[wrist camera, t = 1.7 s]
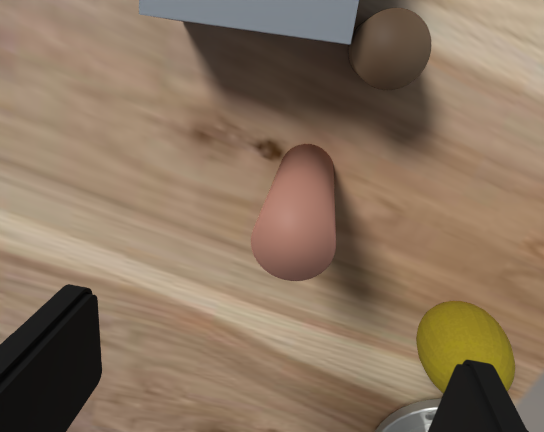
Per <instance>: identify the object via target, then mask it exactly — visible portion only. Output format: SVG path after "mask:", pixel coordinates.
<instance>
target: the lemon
mask: <svg viewBox="0 0 544 432" xmlns="http://www.w3.org/2000/svg"><path fill="white" fill-rule="evenodd" d="M416 340H417V349H418V355H419V358H420V361H421V363H422V365H423V367H424V369H425V371H426V373H427V375H428V377H429V378H430V380H431V381H432V382H433V384H434V385H435V386H436V387H437V388H438V389H439V390H440V391H441V392H442V393H443V394H444V392H445V389H446V387H447V385H448V382H449V380H450V378H451V375H452V373H453V370H454V368H455V366H456V365H457V364H463V362H464V361H465V360H473V361H479V362H484V363H489V364H492V365H493V366H494V367H495V369H496V371H497V373H498V375H499V377H500V379H501V381H502V383H503V385H504V387H505V389H506V390H507V391H508V390H509V388H510V386H511V384H512V382H513V379H514V373H515V361H514V357H513V352H512V348H511V344H510V342H509V339H508V338H507V336H506V334H505V332H504V331H503V329H502V328H501V326H500V325H499V323H498V322H497V321H496V320H495V319H494V318H493V317H492V316H491V315H489V314H488V313H487V312H486V311H485V310H483V309H481V308H479V307H477V306H475V305H473V304H471V303H467V302H462V301H449V302H443V303H441V304H438V305H436V306H435V307H433V308H432V309H430V310H429V311H428V312H427V313H426V314H425V315H424V316H423V318H422V320H421V322H420V324H419V326H418V331H417V338H416Z"/></svg>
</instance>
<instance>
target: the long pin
mask: <svg viewBox="0 0 544 432" xmlns="http://www.w3.org/2000/svg"><path fill="white" fill-rule="evenodd" d="M251 246H252V251H253V254H254V256H255V258H256V260H257V261H258V263H259V264H260V265H261V266H262V268H263V269H265V270H266V271H267V272H268V273H270V274H271V275H273V276H275V277H278V278H280V279H284V280H289V281H302V280H307V279H310V278H313V277H315V276H317V275H319V274H320V273H322V272H323V271H324V270H325V269H326V268H327V267H328V266H329V265H330V263H331V262H332V260H333V257H334V254H335V250H336V228H335V196H334V167H333V163H332V160H331V158H330V156H329V155H328V154H327V152H326V151H324V150H323V149H322V148H320V147H318V146H315V145H312V144H302V145H298V146H296V147H294V148H292V149H290V150H289V151H288V152H287V153H286V154H285V156H284V157H283V159H282V162H281V164H280V166H279V169H278V171H277V174H276V176H275V178H274V181H273V183H272V185H271V188H270V190H269V193H268V195H267V197H266V200H265V202H264V205H263V207H262V209H261V212H260V214H259V217H258V219H257V221H256V224H255V226H254V229H253V232H252V236H251Z"/></svg>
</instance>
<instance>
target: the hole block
mask: <svg viewBox="0 0 544 432" xmlns="http://www.w3.org/2000/svg"><path fill="white" fill-rule="evenodd" d="M358 3H359V0H139V14H141V15H147V16H153V17H159V18H165V19H171V20H177V21H183V22H190V23H197V24H204V25H211V26H218V27H226V28H233V29H240V30H247V31H254V32H261V33H268V34H275V35H282V36H289V37H296V38H303V39H310V40H317V41H324V42H331V43H338V44H345V45H348V44H351V39H352V34H353V29H354V24H355V18H356V13H357V8H358Z"/></svg>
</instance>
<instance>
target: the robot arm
mask: <svg viewBox="0 0 544 432" xmlns="http://www.w3.org/2000/svg"><path fill="white" fill-rule="evenodd" d="M101 374H102V362H101V347H100V331H99V316H98V300H97V296H96V295H92V291H91V289H89V288H86V287H80V286H75V285H70V284H68V285H65V286H64V287H63V288H62V289H60V290H59V291H58V292H57V293H56V294H55V295H54V296H53V297H52V298H51V299H50V300H49V301H48V302H46V303H45V304H44V305H43V306H42V307H41V308H40V309H39V310H38V311H37V312H36V313H35V314H33V315H32V316H31V317H30V318H29V319H28V320H27V321H26V322H25V323H24V324H23V325H22V326H20V327H19V328H18V329H17V330H16V331H15V332H14V333H13V334H11V335H10V336H9V337H8V338H7V339H6V340H5V341H4V342H3V343H2V344H0V432H66V431H67V429H68V428H69V426H70V425H71V423H72V422H73V420H74V419H75V417H76V416H77V414H78V413H79V411H80V410H81V409H82V407H83V406H84V404H85V403H86V401H87V400H88V398H89V397H90V395H91V394H92V392H93V391H94V389H95V388H96V386H97V385H98V383H99V381H100V378H101ZM375 432H529V431H527V430H526V428H525V426H524V424H523V422H522V420H521V418H520V416H519V414H518V412H517V410H516V408H515V406H514V404H513V402H512V400H511V398H510V396H509V394H508V392H507V390H506V389H505V387H504V385H503V383H502V381H501V379H500V377H499V375H498V373H497V371H496V369H495V367H494V366H493V365H492V364H489V363H484V362H479V361H473V360H465V361H464V362H463V364H457V365H456V366H455V368H454V370H453V373H452V375H451V378H450V380H449V382H448V385H447V387H446V389H445V392H444V394H443V397H442V399H430V400H425V401H420V402H416V403H413V404H410V405H408V406H405V407H402V408H401V409H399V410H397V411H395V412H394V413H392V414H390V415H389V416H388V417H387V418H386V419H385V420H383V421H382V422H381V424H380V425H379V426H378V428H377V429H376V430H375Z"/></svg>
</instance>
